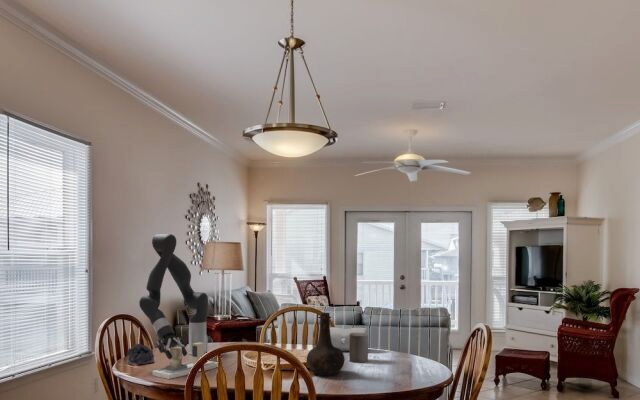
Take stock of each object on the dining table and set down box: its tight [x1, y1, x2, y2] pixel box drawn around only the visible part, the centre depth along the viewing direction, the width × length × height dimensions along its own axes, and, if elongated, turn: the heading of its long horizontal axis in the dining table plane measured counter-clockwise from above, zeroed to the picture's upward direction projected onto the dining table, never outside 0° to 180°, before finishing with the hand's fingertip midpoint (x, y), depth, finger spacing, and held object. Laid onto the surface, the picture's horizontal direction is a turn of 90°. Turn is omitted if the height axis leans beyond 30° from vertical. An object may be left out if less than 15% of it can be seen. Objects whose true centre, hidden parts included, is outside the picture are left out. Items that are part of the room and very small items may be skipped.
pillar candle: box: [348, 331, 369, 364], centre depth 296 cm, size 10×10×15 cm
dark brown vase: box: [306, 312, 345, 376], centre depth 270 cm, size 18×18×28 cm
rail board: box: [152, 342, 218, 380], centre depth 275 cm, size 30×12×12 cm, turn 142°
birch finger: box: [169, 346, 183, 368], centre depth 270 cm, size 4×4×10 cm
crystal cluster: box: [126, 343, 155, 366], centre depth 294 cm, size 13×14×10 cm
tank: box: [330, 326, 370, 353], centre depth 321 cm, size 25×16×12 cm, turn 81°
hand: (178, 356), depth 270 cm, fingers open, 8 cm apart
